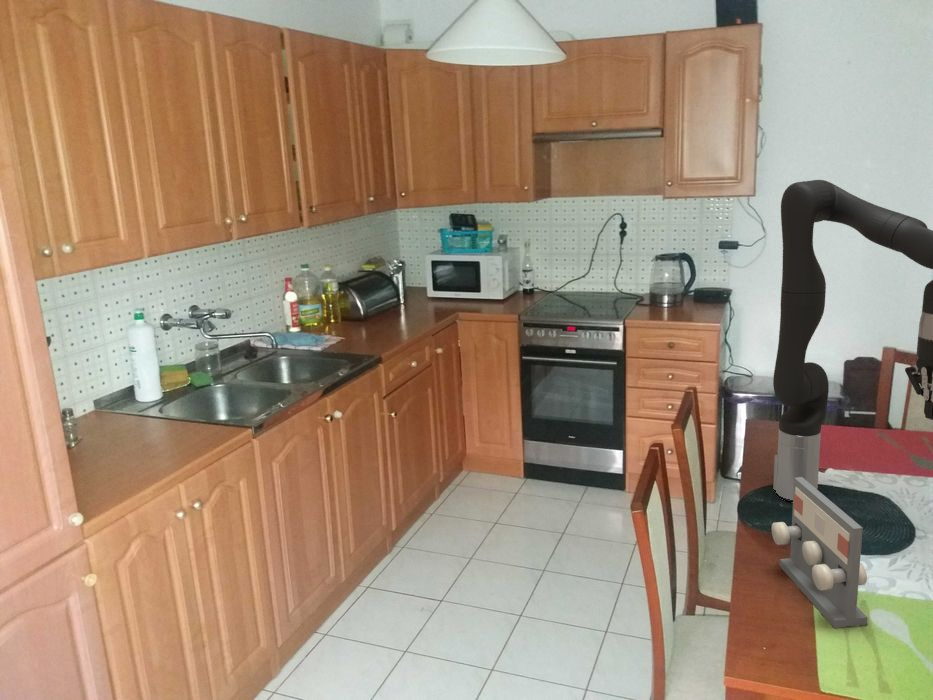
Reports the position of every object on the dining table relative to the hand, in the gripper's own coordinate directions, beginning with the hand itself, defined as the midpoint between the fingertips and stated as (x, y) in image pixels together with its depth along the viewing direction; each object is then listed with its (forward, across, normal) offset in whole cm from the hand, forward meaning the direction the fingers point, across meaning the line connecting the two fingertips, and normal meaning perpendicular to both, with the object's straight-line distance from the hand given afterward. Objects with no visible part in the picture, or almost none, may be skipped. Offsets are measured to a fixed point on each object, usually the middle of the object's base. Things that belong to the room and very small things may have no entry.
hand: (932, 418), depth 151 cm
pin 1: (+22, -4, -29) cm, 37 cm away
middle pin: (+22, +5, -29) cm, 37 cm away
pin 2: (+22, +12, -33) cm, 42 cm away
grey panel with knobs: (+29, +4, -30) cm, 42 cm away
